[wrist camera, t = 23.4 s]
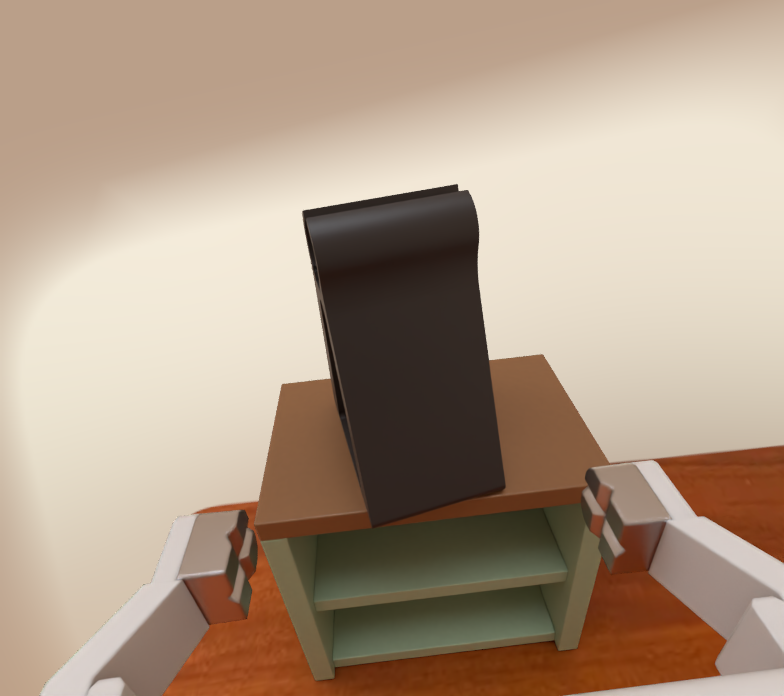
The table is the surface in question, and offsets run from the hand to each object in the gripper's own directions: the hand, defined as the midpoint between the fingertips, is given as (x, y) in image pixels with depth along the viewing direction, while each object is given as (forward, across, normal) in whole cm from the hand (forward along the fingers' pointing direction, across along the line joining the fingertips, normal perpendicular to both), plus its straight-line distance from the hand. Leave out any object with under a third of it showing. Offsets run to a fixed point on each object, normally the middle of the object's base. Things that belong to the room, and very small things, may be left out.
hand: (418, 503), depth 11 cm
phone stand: (+10, 0, +8) cm, 13 cm away
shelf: (+11, -1, +23) cm, 25 cm away
